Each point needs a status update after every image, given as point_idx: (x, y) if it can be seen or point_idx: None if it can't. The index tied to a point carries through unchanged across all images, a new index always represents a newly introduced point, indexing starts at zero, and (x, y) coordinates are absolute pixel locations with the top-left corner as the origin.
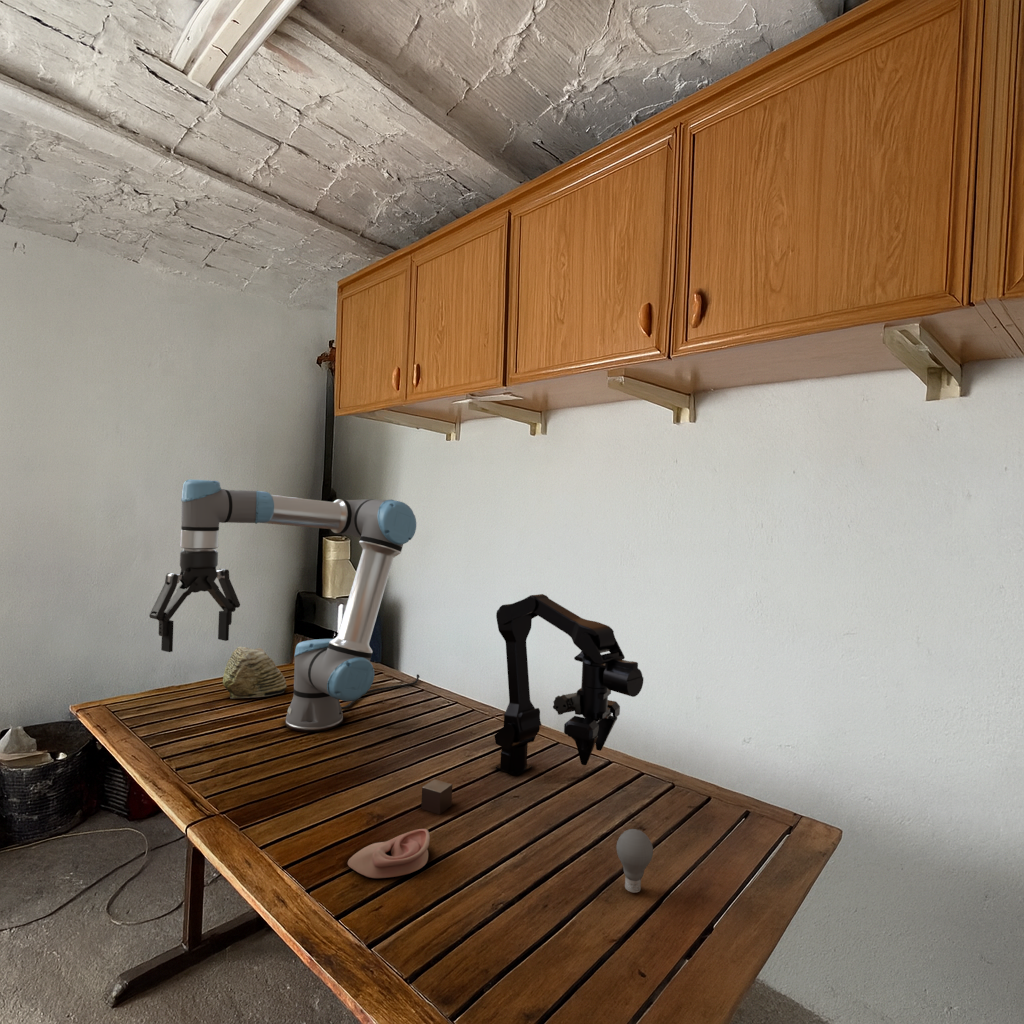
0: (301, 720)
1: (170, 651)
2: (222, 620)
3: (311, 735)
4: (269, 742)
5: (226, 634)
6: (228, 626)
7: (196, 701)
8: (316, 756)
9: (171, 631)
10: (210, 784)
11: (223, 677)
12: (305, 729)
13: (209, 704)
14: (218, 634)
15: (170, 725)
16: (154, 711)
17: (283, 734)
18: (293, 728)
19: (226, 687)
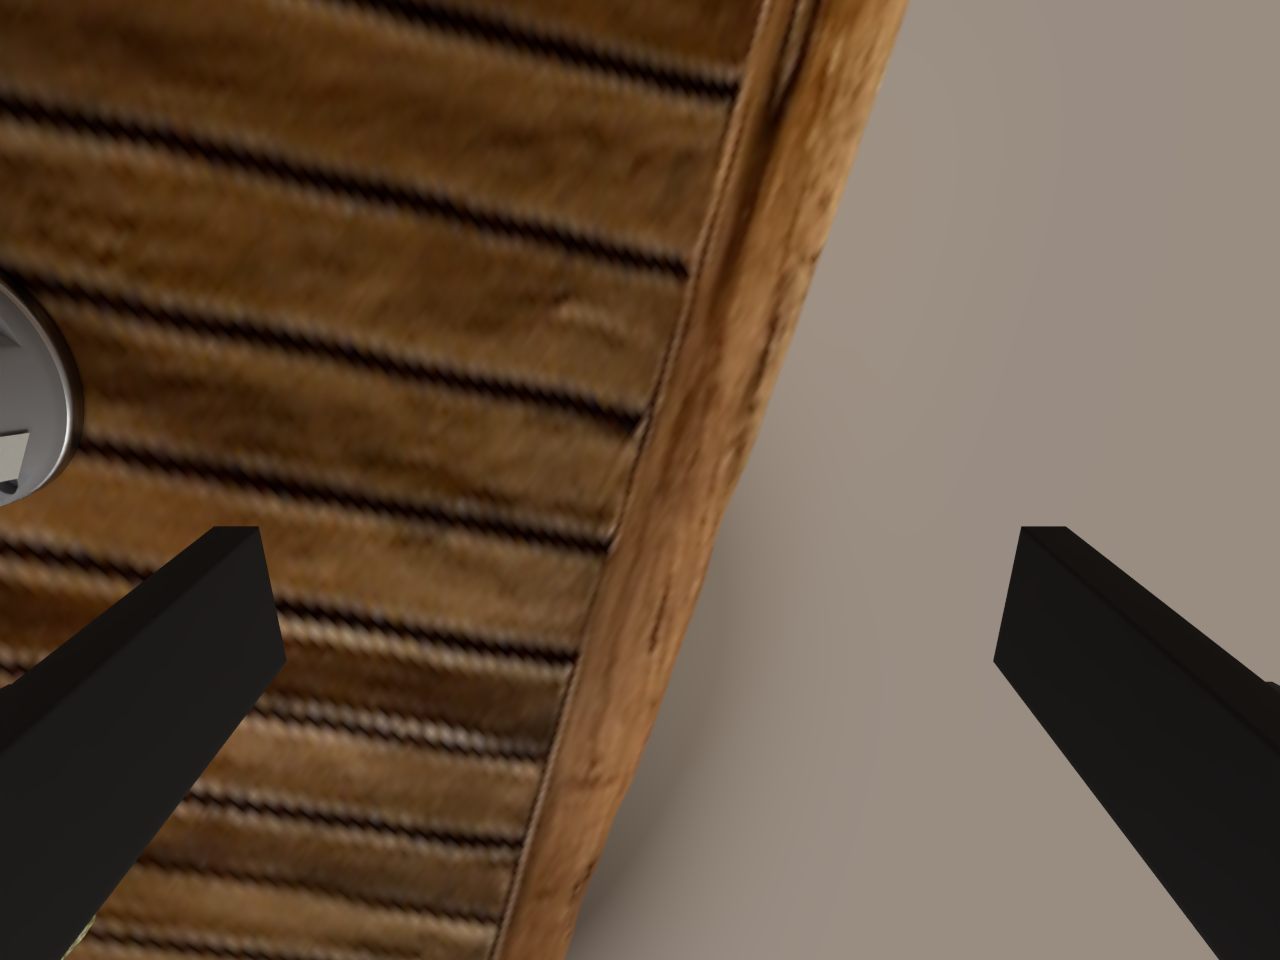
0: (13, 346)
1: (1048, 530)
2: (93, 793)
3: (40, 260)
4: (234, 353)
5: (203, 565)
6: (88, 632)
7: (226, 902)
8: (158, 20)
9: (1243, 685)
10: (646, 188)
11: (69, 951)
12: (34, 313)
13: (204, 850)
14: (254, 696)
15: (417, 779)
16: (385, 915)
17: (138, 377)
18: (73, 375)
19: None
